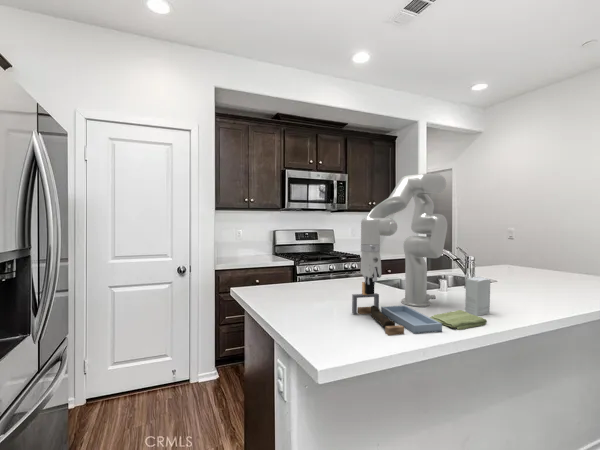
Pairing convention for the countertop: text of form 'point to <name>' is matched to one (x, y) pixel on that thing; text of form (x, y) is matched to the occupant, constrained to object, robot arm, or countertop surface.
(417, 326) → the tray
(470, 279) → the skincare box
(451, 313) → the washcloth
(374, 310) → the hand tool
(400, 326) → the cradle
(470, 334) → the countertop surface
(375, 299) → the gray arch frame
